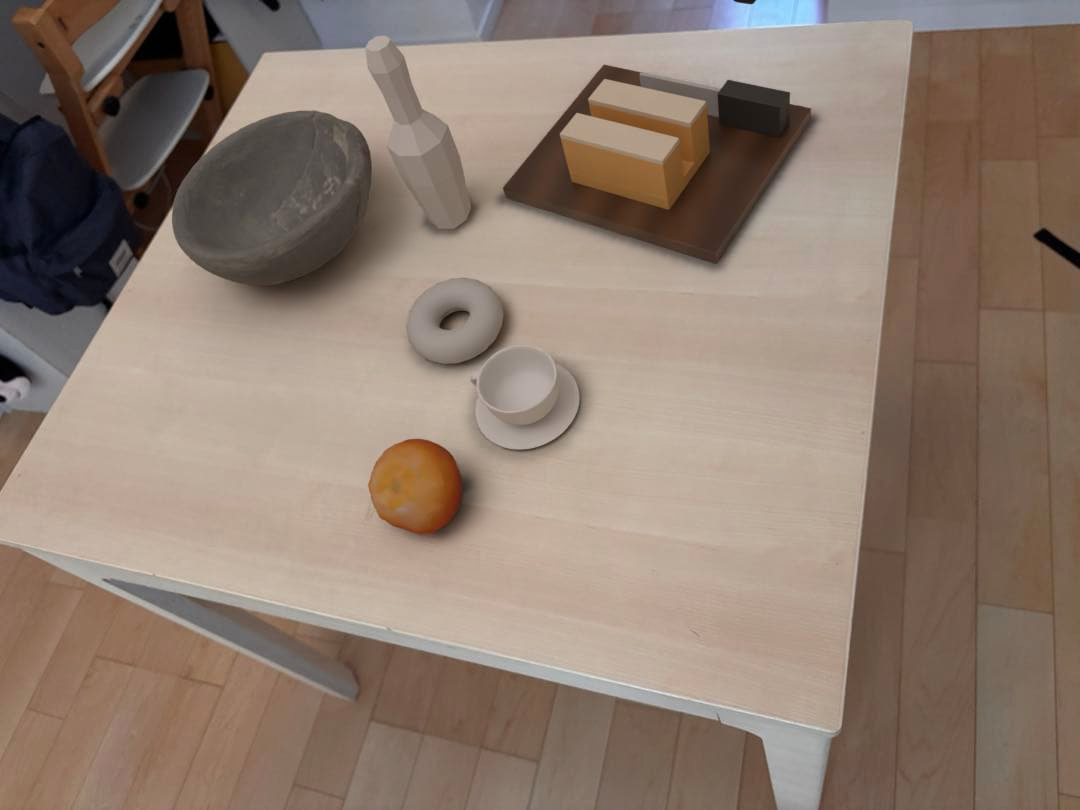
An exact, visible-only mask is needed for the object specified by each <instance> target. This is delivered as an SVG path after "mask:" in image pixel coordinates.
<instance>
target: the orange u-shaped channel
mask: <svg viewBox="0 0 1080 810" xmlns="http://www.w3.org/2000/svg"><path fill="white" fill-rule="evenodd" d="M588 101H589V107H590V111H591V116H588V115H584V114H580V113H576V114H575V116H574V117H573V118H572V119H571V121H570V122H569V123H568V124H567V125H566V127H565V128H564V129H563V130H562V132H561V133H560V137H561V141H562V145H563V149H564V153H565V157H566V161H567V165H568V169H569V173H570V177H571V181H572V182H574V183H578V184H581V185H585V186H588V187H592V188H595V189H598V190H602V191H605V192H609V193H612V194H616V195H619V196H623V197H626V198H629V199H633V200H636V201H640V202H643V203H647V204H650V205H654V206H657V207H660V208H664V209H667V210H670V208H671V207H672V205H673V204H674V202H675V201H676V200H677V198H678V197H679V195H680V194H681V193H682V191H683V190H684V188H685V187H686V185H687V184H688V183H689V181H690V180H691V178H692V177H693V176H694V174H695V173H696V171H697V170H698V169H699V167H700V166H701V164H702V163H703V161H704V160H705V159H706V157H707V156H708V154H709V153H710V145H709V131H708V118H707V106H706V101H703V100H698V99H694V98H689V97H685V96H680V95H676V94H671V93H666V92H662V91H657V90H653V89H648V88H644V87H639V86H635V85H630V84H626V83H621V82H617V81H612V80H608V79H604V80H603V81H602V82H601V84H600V85H599V86H598V87H597V88H596V90H595V91H594V92H593V93H592V95H591V96H590V97H589V98H588Z"/></svg>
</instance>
